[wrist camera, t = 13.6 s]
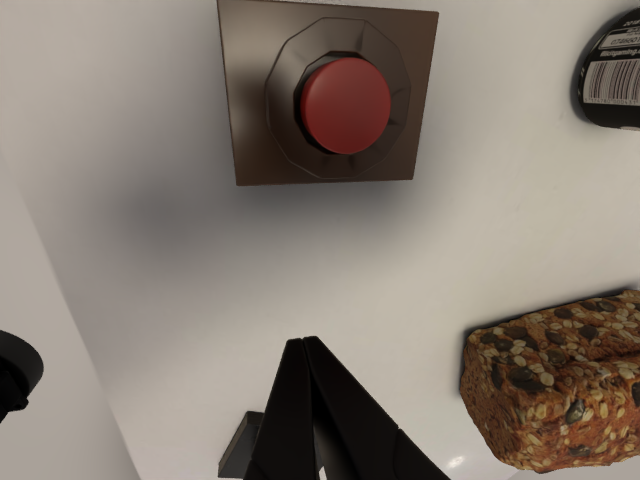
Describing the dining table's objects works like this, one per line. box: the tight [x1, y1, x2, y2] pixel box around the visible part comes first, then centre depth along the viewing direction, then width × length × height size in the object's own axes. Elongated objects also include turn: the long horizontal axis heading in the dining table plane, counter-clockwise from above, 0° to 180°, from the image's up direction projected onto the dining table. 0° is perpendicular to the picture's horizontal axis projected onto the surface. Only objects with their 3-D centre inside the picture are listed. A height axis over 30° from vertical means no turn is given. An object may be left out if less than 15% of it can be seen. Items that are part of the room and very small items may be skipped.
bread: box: [460, 290, 640, 474], centre depth 27 cm, size 19×11×10 cm, turn 98°
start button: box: [300, 57, 391, 154], centre depth 13 cm, size 4×4×2 cm
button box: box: [217, 0, 439, 186], centre depth 15 cm, size 10×8×4 cm
